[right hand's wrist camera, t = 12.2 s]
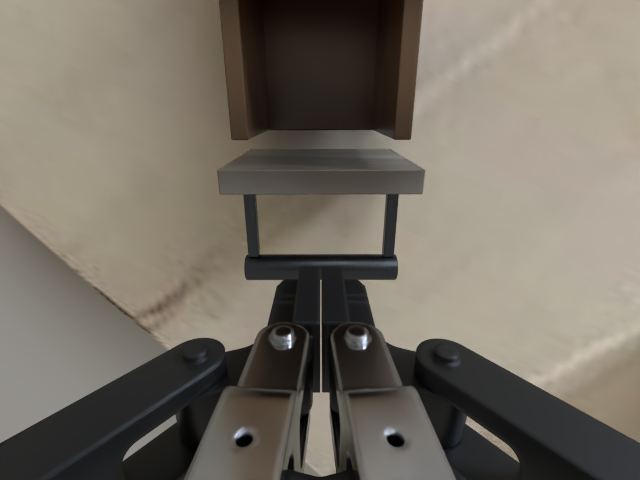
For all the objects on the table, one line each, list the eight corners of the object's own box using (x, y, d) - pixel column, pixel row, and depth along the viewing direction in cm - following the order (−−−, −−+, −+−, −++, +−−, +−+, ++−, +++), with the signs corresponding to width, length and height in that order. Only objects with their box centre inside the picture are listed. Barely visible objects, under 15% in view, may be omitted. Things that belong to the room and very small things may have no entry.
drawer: (384, 241, 27) (411, 297, 19) (257, 241, 27) (230, 297, 19) (410, -128, 19) (475, -297, 11) (230, -128, 19) (166, -296, 11)
